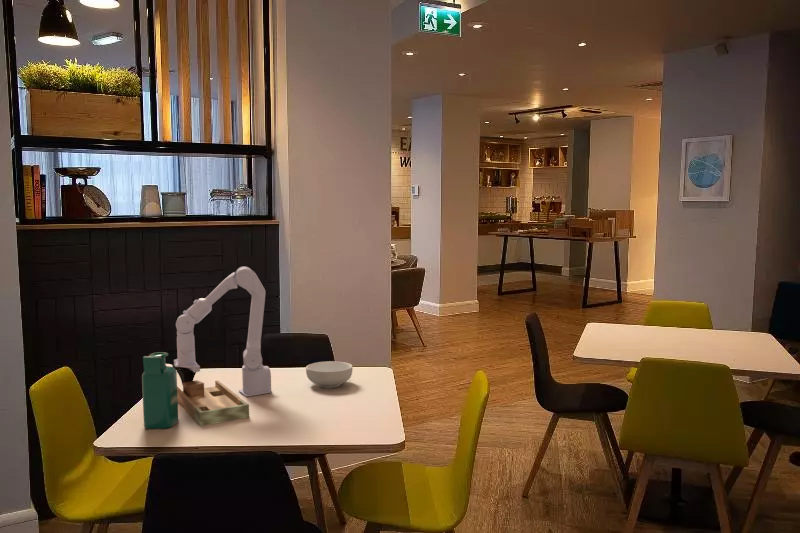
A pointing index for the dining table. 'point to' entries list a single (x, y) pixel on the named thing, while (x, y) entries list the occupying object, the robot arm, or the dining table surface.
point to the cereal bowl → (329, 373)
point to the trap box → (214, 405)
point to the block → (193, 388)
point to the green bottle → (159, 392)
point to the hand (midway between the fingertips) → (187, 389)
